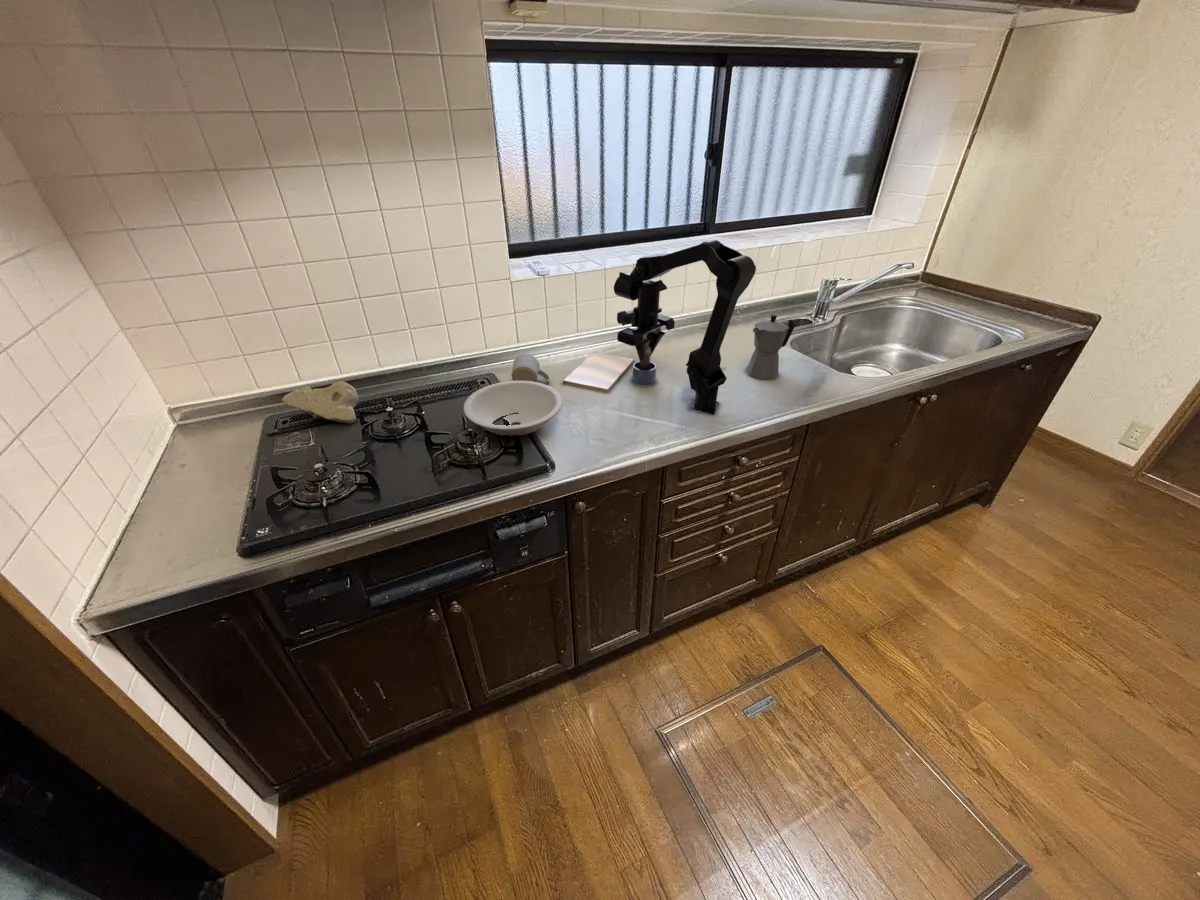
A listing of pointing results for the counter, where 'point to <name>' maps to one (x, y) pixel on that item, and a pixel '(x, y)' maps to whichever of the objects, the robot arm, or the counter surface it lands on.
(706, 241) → the robot arm
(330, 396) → the beige irregular pointed piece
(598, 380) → the bamboo board
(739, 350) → the counter surface
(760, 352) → the coffeepot
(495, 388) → the soup bowl
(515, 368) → the ceramic mug
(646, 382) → the holder cup
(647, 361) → the pepper mill
